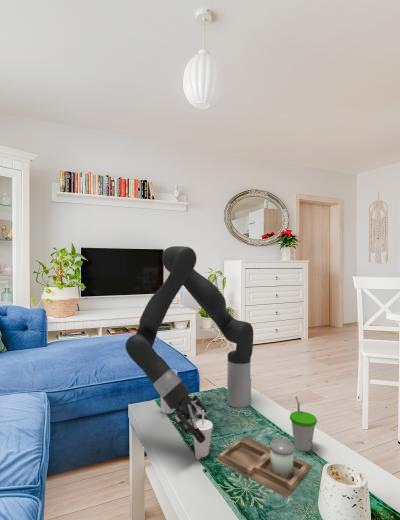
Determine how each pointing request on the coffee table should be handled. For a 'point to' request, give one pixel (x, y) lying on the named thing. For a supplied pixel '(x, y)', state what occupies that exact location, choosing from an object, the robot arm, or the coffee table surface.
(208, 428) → the smoothie
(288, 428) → the coffee table surface
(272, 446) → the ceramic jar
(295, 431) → the cup
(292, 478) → the walnut tray
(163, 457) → the coffee table surface
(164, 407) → the drinking glass
